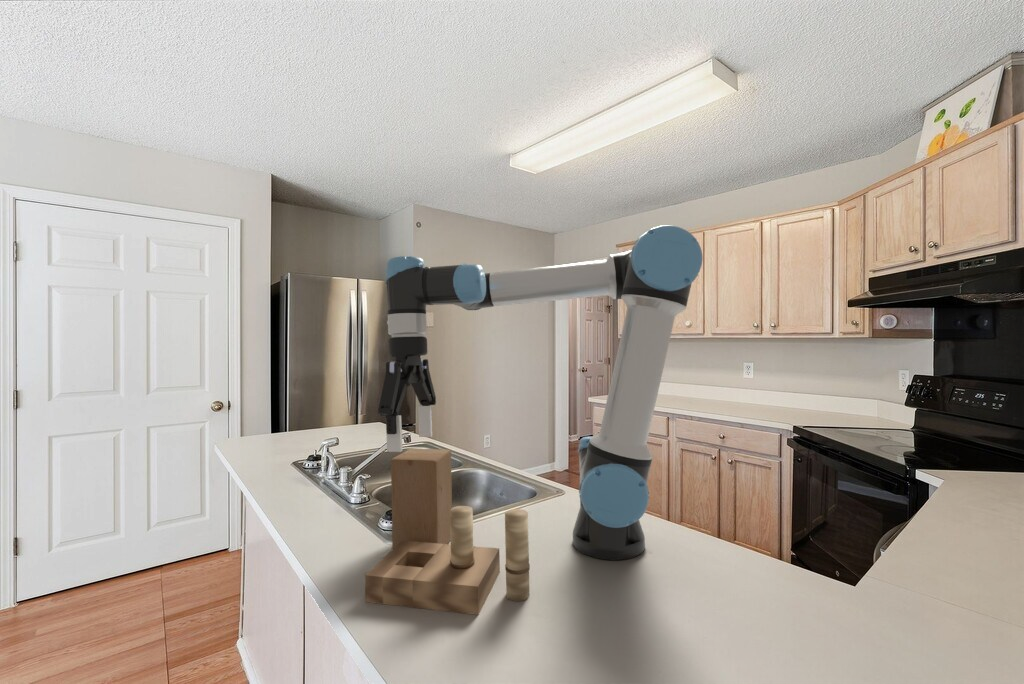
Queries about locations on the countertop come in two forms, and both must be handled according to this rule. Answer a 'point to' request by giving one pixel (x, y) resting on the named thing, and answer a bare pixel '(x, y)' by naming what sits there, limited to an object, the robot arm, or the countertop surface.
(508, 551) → the peg
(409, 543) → the board
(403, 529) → the wooden block
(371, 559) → the countertop surface
